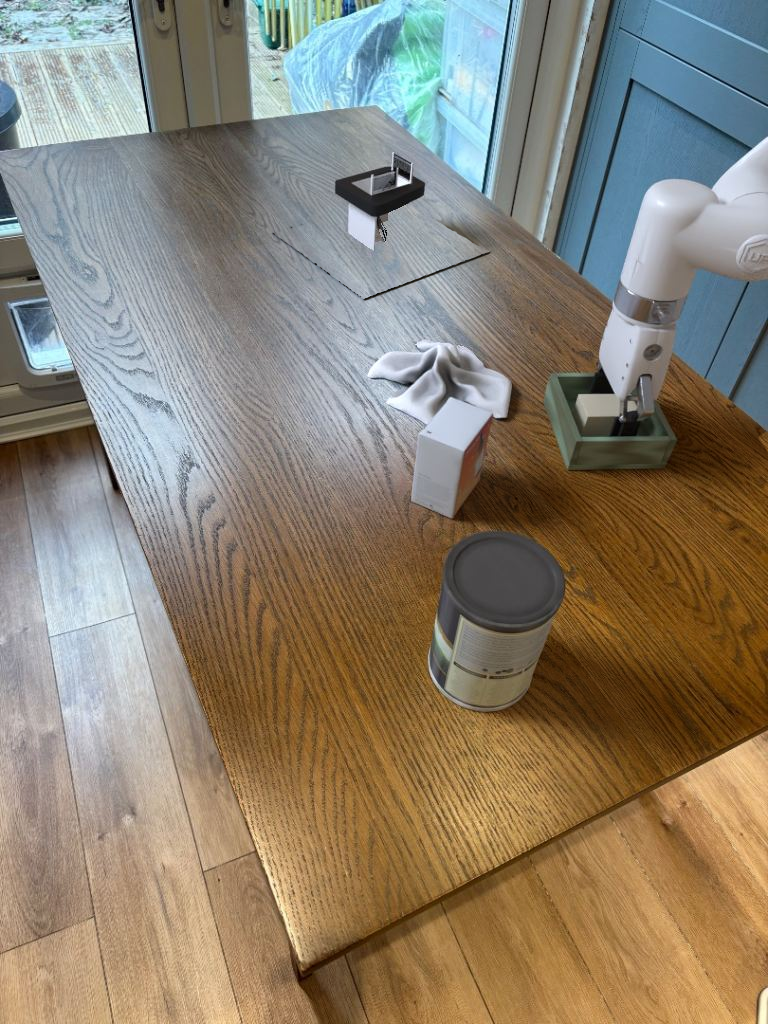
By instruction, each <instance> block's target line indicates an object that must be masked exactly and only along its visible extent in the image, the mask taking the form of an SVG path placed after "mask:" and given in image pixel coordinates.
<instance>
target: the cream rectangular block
mask: <svg viewBox="0 0 768 1024" xmlns="http://www.w3.org/2000/svg"><path fill="white" fill-rule="evenodd" d="M630 395H631V394H630ZM619 407H620V399H619V398H618V397H617V396H616V395H615V394H578V398H577V401H576V404H575V407H574V411H573V414H572V416H573V418H574V421H575V423H576V426H577V428H578V431H579V433H580V436H581V437H609V434H610V431H611V428H612V425H613V422H614V419H615V417H617V416H619ZM635 410H637V406H636V403H635V401H628V409H627V412H629V411H635Z"/></svg>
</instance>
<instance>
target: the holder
mask: <svg viewBox="0 0 768 1024" xmlns="http://www.w3.org/2000/svg"><path fill="white" fill-rule="evenodd" d="M594 375H595V372H550V373H549V377H548V379H547V384H546V388H545V392H544V395H543V400H542V404H543V406H544V409H545V412H546V415H547V417H548V419H549V420H548V421H549V423H550V426H551V429H552V431H553V434H554V437H555V440H556V442H557V445H558V448H559V451H560V454H561V457H562V459H563V462H564V465H565V468H566V470H567V471H588V470H589V471H590V470H591V471H593V470H594V471H595V470H597V471H598V470H649V469H650V470H652V469H665V467H666V465H667V463H668V461H669V459H670V457H671V454H672V452H673V451H674V448H675V446H676V444H677V441H678V439H677V437H676V435H675V433H674V431H673V430H672V427H671V425H670V424H669V422H668V420H667V418H666V416H665V414H664V412H663V410H662V408H661V406H660V404H659V403H658V400H657V399H656V400H654V401H653V403H654V414H653V415H651V416H650V417H649V418H648V419H647V420H646V421H644V422H641V424H640V426H639V429H638V432H637V435H636V436H628V437H581V436H580V433H579V431H578V428H577V426H576V423H575V421H574V418H573V416H572V414H573V411H574V407H575V404H576V401H577V398H578V394H589V392H590V388H591V385H592V381H593V378H594ZM614 394H615V393H614ZM631 395H638V392H637V390H633V392H632V393H631ZM637 402H638V401H635V403H636V406H637Z"/></svg>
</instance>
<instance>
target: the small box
mask: <svg viewBox="0 0 768 1024" xmlns="http://www.w3.org/2000/svg"><path fill="white" fill-rule="evenodd" d="M493 418H494V417H493V413H491V412H488V411H486V410H483V409H481V408H478V407H475V406H473V405H470V404H468V403H465V402H463V401H460V400H457V399H455V398H452V397H450V398H449V399H448V400H447V402H446V403H445V404H444V405H443V407H442V408H441V409H440V410H439V412H438V413H437V414H436V415H435V416H434V417H433V419H432V420H431V421H430V422H429V423H428V424H427V425H426V424H425V426H424V428H423V429H421V430H420V432H418V435H417V443H416V453H415V460H414V469H413V477H412V487H411V497H410V501H411V502H412V503H414V504H416V505H418V506H420V507H423V508H425V509H428V510H430V511H433V512H435V513H437V514H439V515H442V516H444V517H446V518H449V519H454V518H455V516H456V515H457V513H458V511H459V510H460V508H461V507H462V505H463V504H464V503H465V501H466V500H467V498H468V497H469V496H470V494H471V493H472V492H473V490H474V489H475V487H476V486H477V484H479V482H480V479H481V474H482V469H483V466H484V460H485V456H486V451H487V446H488V442H489V437H490V432H491V428H492V427H491V426H492V422H493Z"/></svg>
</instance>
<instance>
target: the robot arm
mask: <svg viewBox="0 0 768 1024" xmlns="http://www.w3.org/2000/svg"><path fill="white" fill-rule="evenodd" d="M698 270H702V271H706V272H710V273H712V274H715V275H718V276H722V277H725V278H729V279H732V280H736V281H742V282H748V283H749V282H750V283H754V282H761V281H766V280H768V136H766V137H765V138H763V139H762V140H761V141H760V142H758V144H756V145H755V146H754V147H753V148H752V149H750V150H749V151H748V152H747V153H745V154H744V155H743V156H742V157H741V158H740V159H738V161H736V162H735V163H734V164H733V165H732V166H730V167H729V168H728V169H727V170H726V171H725V172H724V173H723V174H722V175H721V176H720V177H719V179H718V180H717V181H716V182H715V184H714V185H713V186H712V188H710V187H708V186H707V185H705V184H703V183H699V182H697V181H693V180H689V179H683V178H682V179H681V178H667V179H663V180H660V181H657V182H655V183H653V184H652V185H651V186H650V187H649V188H648V189H647V190H646V192H645V194H644V196H643V199H642V201H641V205H640V208H639V211H638V215H637V219H636V222H635V226H634V229H633V232H632V235H631V239H630V243H629V246H628V249H627V253H626V256H625V259H624V263H623V267H622V270H621V274H620V276H619V280H618V283H617V287H616V291H615V293H614V298H613V301H612V310H611V312H610V314H609V317H608V320H607V322H606V325H605V327H604V328H602V331H601V341H600V347H599V348H598V360H597V361H596V363H595V372H594V373H595V375H594V378H593V381H592V385H591V388H590V392H589V394H614V393H615V395H616V396H617V397H618V398H619V399H620V407H619V416H617V417H615V419H614V422H613V425H612V428H611V431H610V434H609V437H628V436H636V435H637V432H638V429H639V426H640V424H641V422H644V421H646V420H647V419H648V418H649V417H650V416H651V415H653V414H654V403H653V401H654V400H656V401H657V399H658V398H659V396H660V393H661V391H662V387H663V385H664V383H665V379H666V375H667V372H668V368H669V366H670V362H671V358H672V354H673V350H674V345H675V340H676V335H677V324H676V323H678V321H679V320H680V318H681V315H682V313H683V310H684V307H685V304H686V302H687V299H688V296H689V293H690V291H691V288H692V285H693V282H694V280H695V277H696V275H697V273H698ZM633 390H637V392H638V395H630V394H631V393H632V392H633ZM628 401H638V402H637V410H635V411H629V412H627V409H628Z"/></svg>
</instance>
